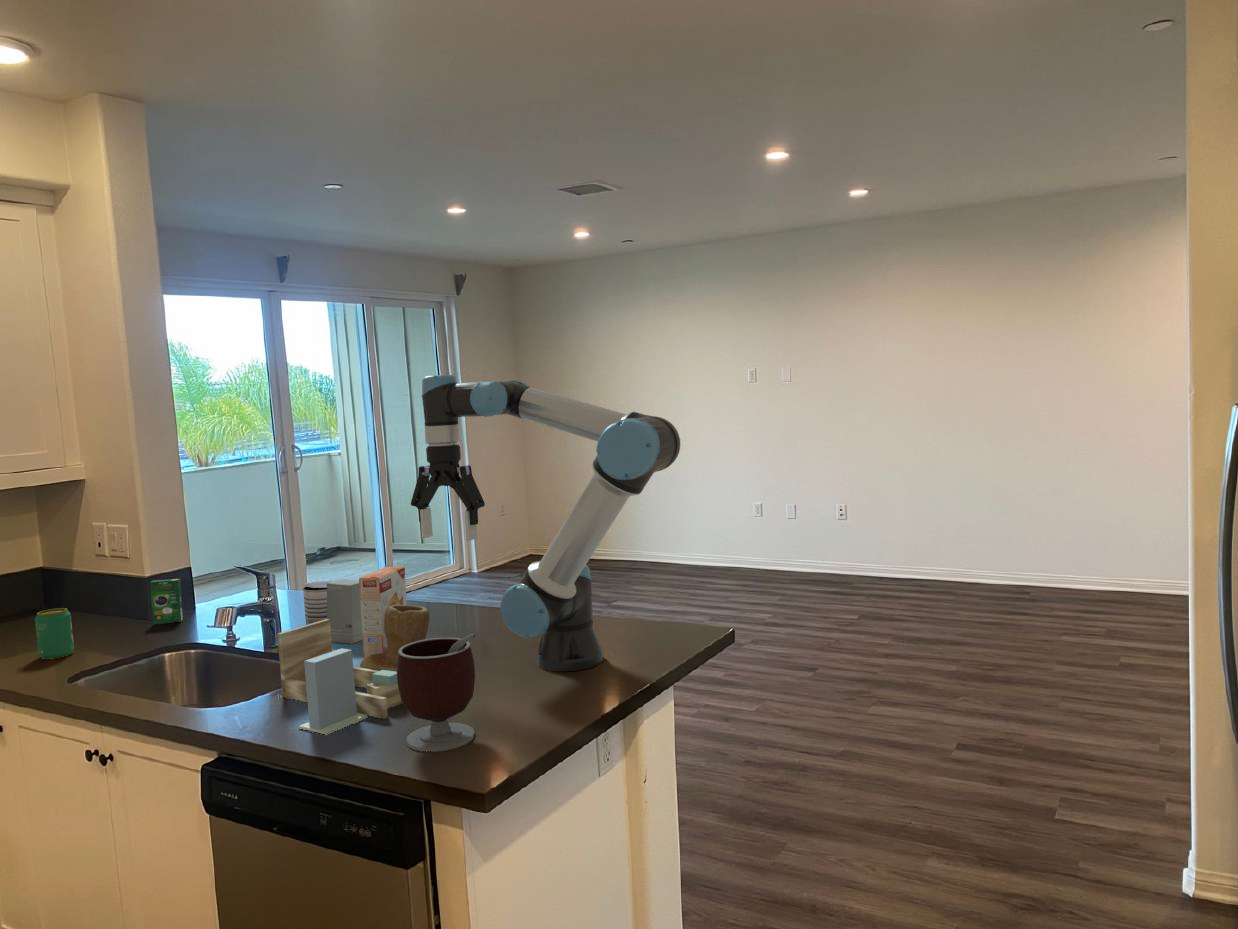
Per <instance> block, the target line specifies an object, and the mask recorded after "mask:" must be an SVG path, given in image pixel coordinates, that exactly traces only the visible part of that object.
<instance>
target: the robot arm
mask: <svg viewBox="0 0 1238 929" xmlns="http://www.w3.org/2000/svg"><path fill="white" fill-rule="evenodd" d="M421 380H422V381H421V382H422V383H421V384H422V385H421V386H422V387H421V393H422V394H421V399H422V400H421V401H422V406H423V407H422V408H423V417H424V418H423V419H424V436H425V437H424V438H425V440H424V441H425V444H426V445H427V446H426V447H425V452H426V462H427V463H429V465H422V466H421V465H420V466H419V467H418V476H417V481H416V482H415V483H416V484H415V488H414V490H413V493H412V498H411V500H410V505H411V507H415V508H416V509H417V510H418V511H417V512H418V522H419V523H420V530H421V538H423V539H425V538H430V537H433V535H434V534H433V521H432V509H431V507H430V504H431V502H432V500H433V498H434V496H435V494H436V493H437V491H438V489H439V488H440V487H443V486H444V487H449V488H451V489H453V491H454V492H455V493H456V495H457V497H458V498H459V499H460V501H461V502H462V504H464V507H465V508H466V510H464V518H465V519H464V520H465V521H464V522H465V537H466V541H473V540H477V539H478V530H477V529H478V527H477V525H478V524H479V513H478V511H479V509H480V508H483V507H485V506H486V504H485V500H484V498H483V496H482V495H481V492H480V490H479V487H478V485H477V482H476V480H475V478H474V476H473V471H472V466H471V465H469V464H467V465H462V466H461V465H460V461H461V459H462V454H461V445H460V444H458V443H459V442H460V426H459V418H462V417H463V418H464V417H466V418H467V417H485V418H487V417H492V416H502V415H507V416H508V415H509V416H512V417H515V418H518V419H523V420H526V421H530V422H533V423H535V424H539V425H543V426H546V427H549V428H552V429H556V430H558V431H562V432H565V433H568V434H571V435H574V436H577V437H581V438H584V439H588V440H592V441H595V442H597V444H596V448H595V449H596V456H595V458H594V460H593V461H592V463H591V466H592V470H593V475H592V477H591V478H590V480H589V481H588V484H587V485H586V487H585V488H584V490H583V492H582V493H581V495H580V497H579V498H578V500H577V501H576V503H575V505H574V506H573V508H572V510H571V511H570V513H569V514H568V515H567V517H566V519H565V521H564V522H563V524H562V526H561V527H560V529H559V531H558V532H557V533H556V535H555V537H554V538H553V540H552V541H551V543H550V545H549V547H548V549H547V550H546V551H545V553H544V555H543V556H542V558H541V559H540V560H539V561H533V562H532V563H530V564H529V566H528V567H527V568H526V570H525V572H524V573H523V575H522V576H521V578H520V580H519V582H517V583H516V584H513V585H511V586H509V588H508V589H506V590H505V591H504V593H503V595H502V596H501V600H500V612H501V614H502V620H503V622H504V624H505V625H506V627H507V628H508V630H510V631H511V632H512V633H514V634H515V635H517V636H519V637H522V638H527V639H528V638H529V639H530V638H535V637H539V636H541V637H540V641H539V646H538V648H537V649H538V650H537V653H536V654H537V655H536V660H537V666H538V667H539V668H541V669H543V670H546V671H552V672H574V671H575V672H576V671H581V670H582V671H583V670H585V669H587V670H588V669H590V668H594V667H596V666H598V665H600V664H601V663H602V662H603V660H604V659H603V658H604V656H603V655H604V654H603V648H602V647H601V644H600V642H599V639H598V636H597V632H596V630H595V628H594V614H593V613H594V612H593V611H594V610H593V594H592V593H593V592H592V591H593V590H592V580H593V579H592V577H591V570H590V567H589V566H588V565H587V563H588V562H589V560H590V559H591V557H592V555H594V553H595V551H596V550H597V548H598V546H599V545H600V543H601V542H602V540H603V539H604V538H605V536H606V534H607V533H608V531H609V529H610V528H611V526H612V524H614V523H613V522H615V520H616V519H617V517H618V515H619V513H620V512H621V511H622V509H623V508H624V506H625V504H626V503H627V501H628V500H629V498H630V497H633V496H639V495H640V494H641V493H642V492H643V490H644V489H645V487H646V486H647V485H648V482H650V479H651V478H652V476H653V475H654V474H655V473H657V472H660V471H663V470H665V469H667V468H669V467H670V466H671V465H673V463H675V461H676V460H677V458H678V456H679V453H680V450H681V438H680V434H679V432H678V430H677V428H676V427H675V426H674V424H673V423H672V422H670V421H669V420H667V419H666V418H662V417H659V416H654V415H648V414H644V413H640V412H636V411H631V412H629V413H623V412H619V411H617V410H612V409H609V408H605V407H602V406H598V405H595V404H591V403H587V402H586V401H581V400H577V399H573V398H570V397H568V396H567V397H566V396H562V395H559V394H556V393H552V392H549V391H546V390H542V389H538V388H535V387H531V386H529V385H528V384H527V383H525V382H523V381H517V380H507V381H495V380H481V381H473V382H471V381H470V382H457V380H456V376H455V375H453V374H442V375H441V374H440V375H438V374H437V375H427V376H424V377H423V379H421ZM600 662H601V663H600ZM599 663H600V664H599Z"/></svg>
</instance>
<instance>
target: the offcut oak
mask: <svg viewBox="0 0 1238 929" xmlns="http://www.w3.org/2000/svg"><path fill="white" fill-rule="evenodd" d="M386 701H387V708H389V709H391V708H390V707H392V706H394V705H397V706H399V705H401V703H402V700H401V697H400V694H398V695H395V696H391V697H388V698H386ZM398 704H399V705H398ZM402 704H403V703H402ZM394 707H395V706H394ZM392 708H393V707H392Z"/></svg>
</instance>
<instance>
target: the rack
mask: <svg viewBox="0 0 1238 929" xmlns="http://www.w3.org/2000/svg"><path fill="white" fill-rule="evenodd" d="M276 634H277V645H278V646H277V647H278V658H279V659H278V660H279V667H280V668H279V669H280V680H281V681H280V682H281V691H282V693H281V694H282V698H283V697H285V699H288V700H293V699H296V700H295V701H297V700H300V701H299V702H302V701H303V702H304V703H307V702H308V701H307V689H306V677H305V665H304V661H305V660H308V659H311V658H314V657H317V656H320V655H323V654H326V653H329V652H332V651H333V642H332V638H331V625H330V619H325V620H322V621H318V622H315V623H311V624H308V625H306V624H305V625H302V626H298V627H295V628H291V629H288V630H284V631H281V632H278V633H276ZM353 670H354V683H355V687H357V688H358V687H359V688H363V687H364V688H363V689H367V684H371V683H373V680H372V674H373V673H376V672H378V671H379V670H373V669H366V668H361V667H360V666H359V667H358V666H354V665H353ZM355 696H356V709H357V713H360V714H365V715H369V716H368V717H372V716H373V717H372V718H377V719H381V718H385V719H387V718H388V717H389V716H388V709H387V701H386V697H381V696H376V695H370V694H367V693H365V692H359V691H355Z"/></svg>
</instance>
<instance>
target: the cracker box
mask: <svg viewBox="0 0 1238 929" xmlns="http://www.w3.org/2000/svg"><path fill="white" fill-rule="evenodd" d="M358 581H359V588H360V604H361V620H362V636H363V640H362V650H363V660H364V659H365V658H366V657H368V656H370V655H373V654H379V653H385V652H386V651H387V650H388V645H387V640H386V635H385V629H384V615H385V612H386V610H387V608H388V607H389V606H392V605H402V606H403V605H408V604H407V588H406V570H405V567H404V566H385V567H382V568H380V569H378V570H375V571H372V572H370V573H368V574H365V575H363V576H361V577H359V578H358Z"/></svg>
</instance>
